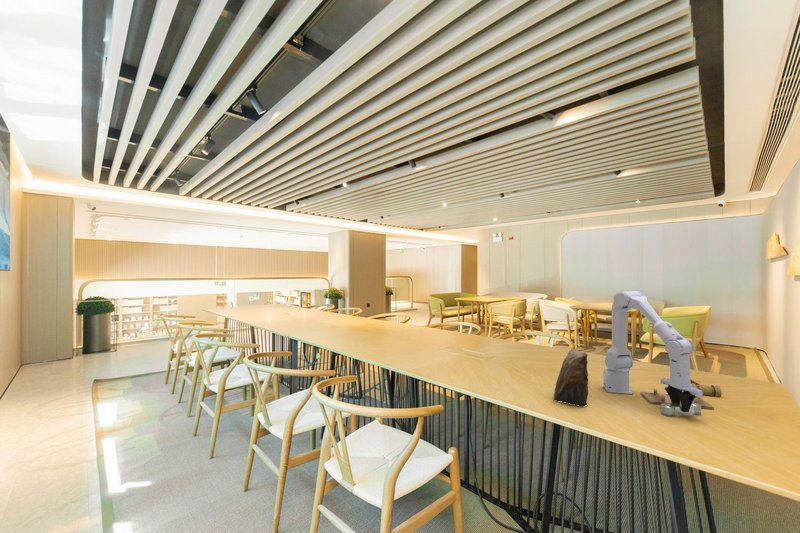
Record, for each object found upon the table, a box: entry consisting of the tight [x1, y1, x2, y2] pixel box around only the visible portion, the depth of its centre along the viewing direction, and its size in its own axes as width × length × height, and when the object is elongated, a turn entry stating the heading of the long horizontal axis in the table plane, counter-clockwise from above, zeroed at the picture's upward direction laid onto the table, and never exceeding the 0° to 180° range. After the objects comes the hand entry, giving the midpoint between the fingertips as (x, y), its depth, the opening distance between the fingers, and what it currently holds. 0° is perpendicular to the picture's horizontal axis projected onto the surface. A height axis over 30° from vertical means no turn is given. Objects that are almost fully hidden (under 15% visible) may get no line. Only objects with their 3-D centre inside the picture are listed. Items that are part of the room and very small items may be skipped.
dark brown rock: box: [553, 347, 589, 407], centre depth 137 cm, size 13×13×20 cm
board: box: [639, 388, 715, 411], centre depth 135 cm, size 20×11×3 cm, turn 72°
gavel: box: [690, 378, 723, 398], centre depth 150 cm, size 21×5×10 cm
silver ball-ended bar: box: [660, 402, 702, 418], centre depth 124 cm, size 14×4×3 cm, turn 97°
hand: (681, 409), depth 124 cm, fingers closed on silver ball-ended bar, 3 cm apart
